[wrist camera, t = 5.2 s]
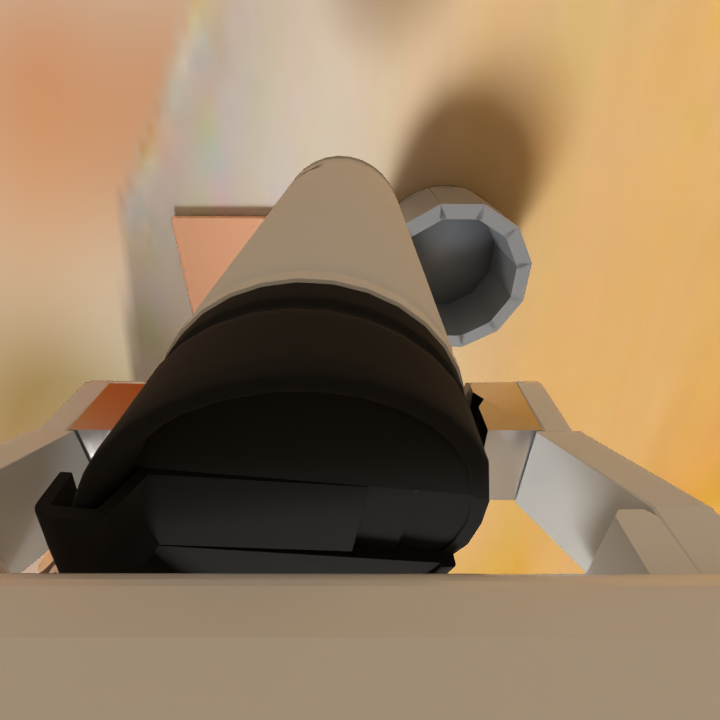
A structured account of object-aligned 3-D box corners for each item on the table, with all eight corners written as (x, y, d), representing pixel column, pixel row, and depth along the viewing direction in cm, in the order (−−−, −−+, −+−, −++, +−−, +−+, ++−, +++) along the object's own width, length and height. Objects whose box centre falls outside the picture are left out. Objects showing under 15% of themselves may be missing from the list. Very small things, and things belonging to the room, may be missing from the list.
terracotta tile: (312, 331, 41) (311, 335, 40) (200, 331, 41) (197, 334, 40) (305, 216, 35) (304, 218, 34) (174, 215, 35) (170, 218, 34)
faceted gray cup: (489, 309, 40) (512, 346, 34) (374, 308, 40) (376, 346, 34) (512, 185, 34) (545, 204, 28) (377, 185, 34) (380, 203, 28)
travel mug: (281, 143, 21) (-55, 357, 4) (410, 167, 21) (606, 440, 4) (274, 263, 24) (78, 658, 7) (386, 280, 25) (447, 683, 8)
